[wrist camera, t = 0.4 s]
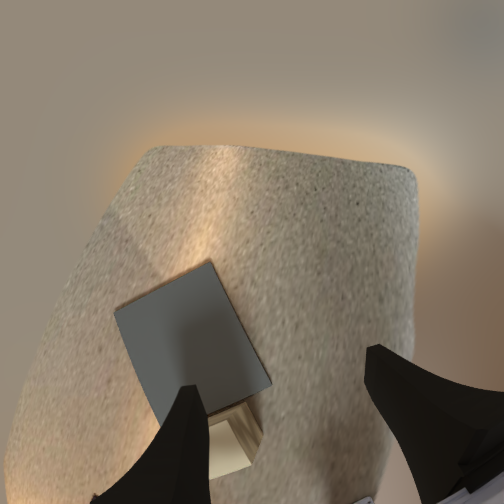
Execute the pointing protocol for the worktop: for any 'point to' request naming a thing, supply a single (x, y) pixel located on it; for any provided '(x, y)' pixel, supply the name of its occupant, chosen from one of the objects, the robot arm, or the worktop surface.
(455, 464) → the robot arm
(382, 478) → the worktop surface
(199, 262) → the worktop surface
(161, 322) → the mat
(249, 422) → the birch block
